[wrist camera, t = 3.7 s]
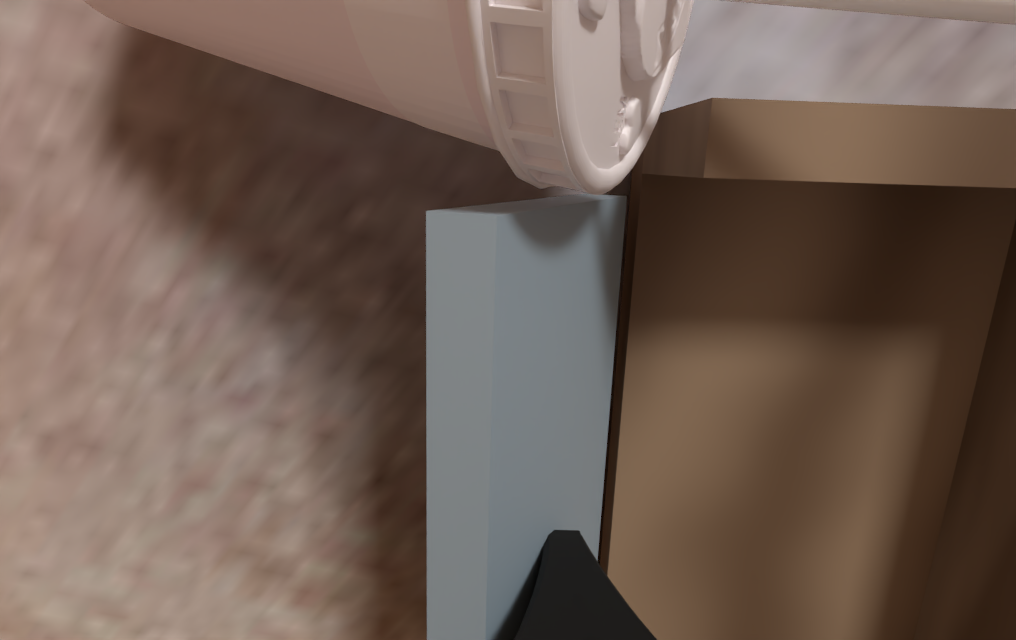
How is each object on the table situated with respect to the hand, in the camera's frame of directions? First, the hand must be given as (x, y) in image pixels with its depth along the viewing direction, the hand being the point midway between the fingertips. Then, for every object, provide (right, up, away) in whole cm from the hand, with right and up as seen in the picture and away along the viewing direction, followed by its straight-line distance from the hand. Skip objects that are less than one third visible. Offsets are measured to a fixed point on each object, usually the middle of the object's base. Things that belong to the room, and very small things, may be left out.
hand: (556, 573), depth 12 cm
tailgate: (+2, +1, +3) cm, 4 cm away
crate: (+7, +1, +5) cm, 8 cm away
